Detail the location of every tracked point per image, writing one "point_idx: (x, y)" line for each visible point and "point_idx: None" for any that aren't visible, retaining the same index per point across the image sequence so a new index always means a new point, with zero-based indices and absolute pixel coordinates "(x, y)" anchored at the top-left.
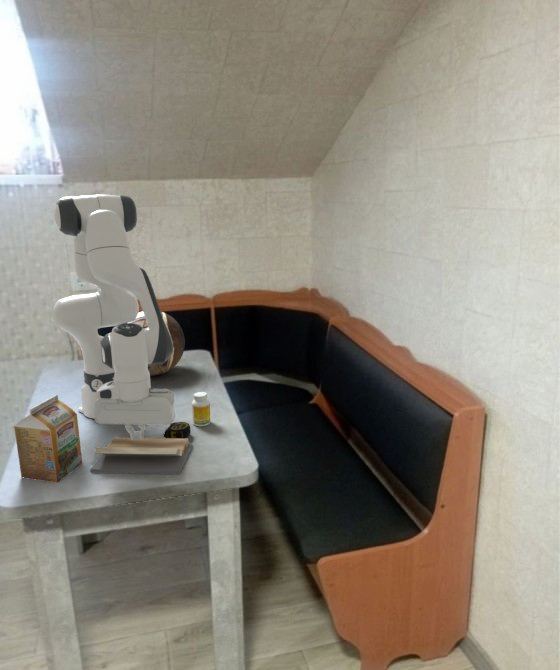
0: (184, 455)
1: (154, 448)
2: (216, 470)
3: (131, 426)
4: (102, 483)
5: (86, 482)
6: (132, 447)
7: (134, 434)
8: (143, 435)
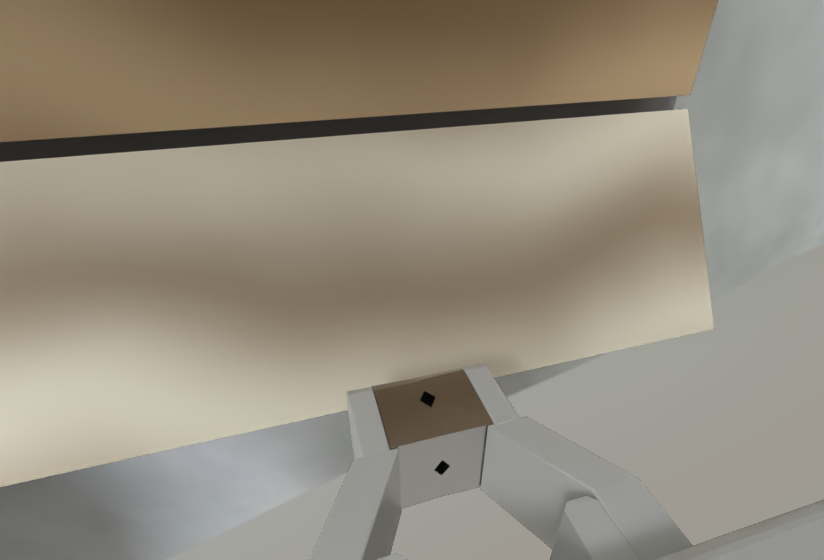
0: (664, 97)
1: (557, 361)
2: (777, 214)
3: (373, 538)
4: (217, 453)
5: (105, 472)
6: (198, 84)
7: (422, 494)
8: (490, 374)
